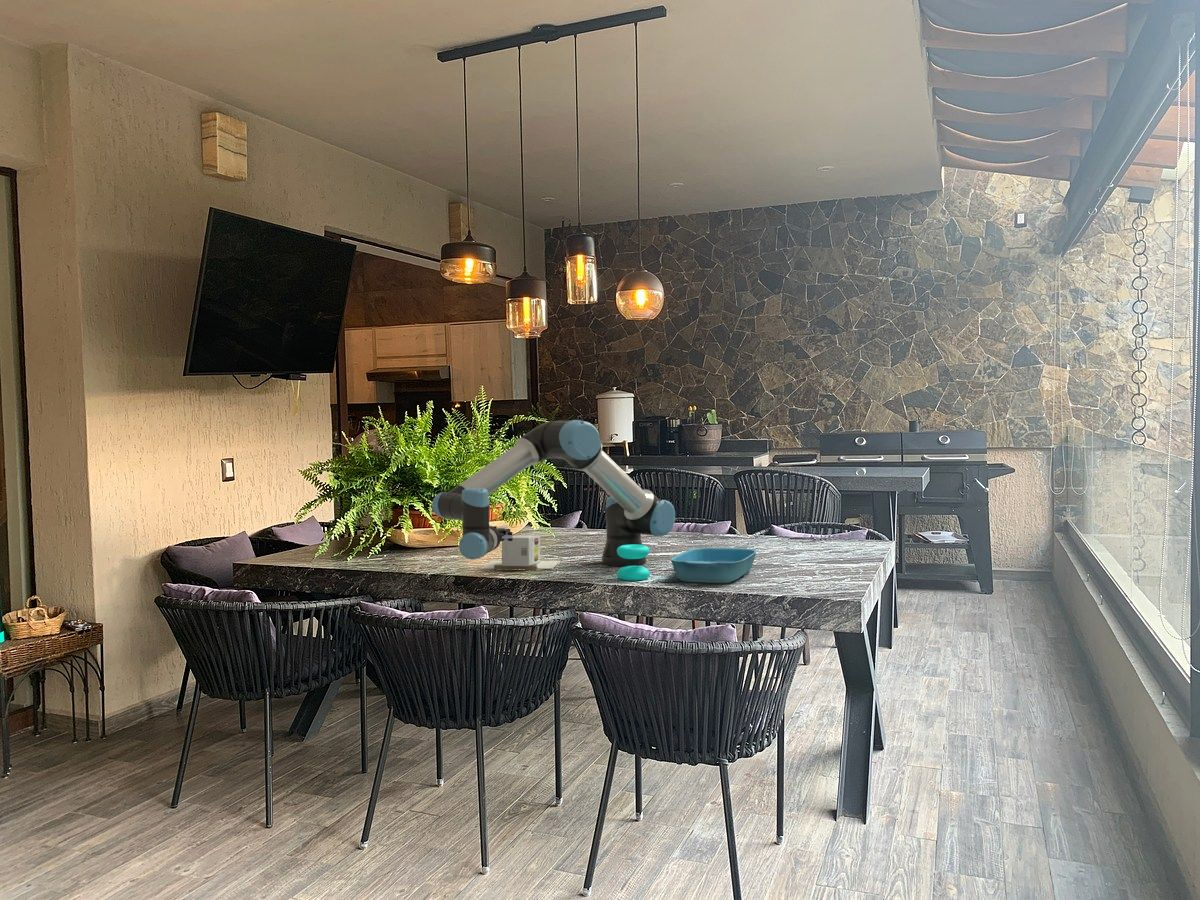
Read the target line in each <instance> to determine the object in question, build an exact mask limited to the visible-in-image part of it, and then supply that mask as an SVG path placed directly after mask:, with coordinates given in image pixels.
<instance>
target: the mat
mask: <svg viewBox="0 0 1200 900" xmlns="http://www.w3.org/2000/svg"><path fill="white" fill-rule="evenodd" d="M560 563H561V560H540V562H539V563H536V564H533V565H530V566H502V560H490V561H489V562H488V563H486V564H485V565H483V566H481V567H480V569H481V568H483V569H482V570H494V569H525V570H524V571H537V569H553V568H554V567H555V566H556V565H557V564H558V565H559V564H560ZM558 565H557V566H558ZM557 566H556V567H557ZM556 567H555V568H556ZM555 568H554V569H555ZM554 569H553V570H554Z"/></svg>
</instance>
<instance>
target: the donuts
mask: <svg viewBox="0 0 1200 900" xmlns="http://www.w3.org/2000/svg"><path fill="white" fill-rule="evenodd" d="M617 554H618V555H619V556H620V557H622V558H626V559H640V558H644V557H646V558H647V556H649V554H650V547H648V546H647V545H645V544H644V545H643V544H642V545H637V544H631V545H622V546H620V547H618V548H617ZM616 573H617V574H616V575H617V577H618V579H620V580H622V581H629V582H632V581H633V582H637V581H644V580H647V579H648V578H649V577H650V574H651V572H650V569H648V568H647V567H646V566H641V565H633V566H621V567H620V568H619V569H618V570H617V572H616Z"/></svg>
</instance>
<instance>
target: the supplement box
mask: <svg viewBox="0 0 1200 900" xmlns="http://www.w3.org/2000/svg"><path fill="white" fill-rule="evenodd" d="M501 561H502V566H530V565H533V564H536V563H539V562H540V561H541V535H513V541H508V540H506V539H504V541H501Z"/></svg>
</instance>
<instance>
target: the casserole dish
mask: <svg viewBox="0 0 1200 900" xmlns="http://www.w3.org/2000/svg"><path fill="white" fill-rule="evenodd" d="M756 554H757V550H756V549H754V548H753V549H752V548H745V547H744V548H743V547H742V548H741V547H720V546H717V547H715V546H714V547H712V546H711V547H710V546H709V547H698V548H697V547H695V548H691V549H688V550H686V551H682V552H681V553H679V554H676V555H674V556H673V557H671V558H670V561H671V564H672V568H673V571H674V574H675V575H676V577H677V578H678V579H679V580H680V581H682V582H685V583H687V582H688V583H705V584H728V583H729V584H730V583H732V582H735V581H736V580H739V579H740V578H741V577H743V576H745V575H746V574H747V573H748V572H749V571H751V569H752V567H753V565H754V561H755V559H756Z"/></svg>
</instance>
